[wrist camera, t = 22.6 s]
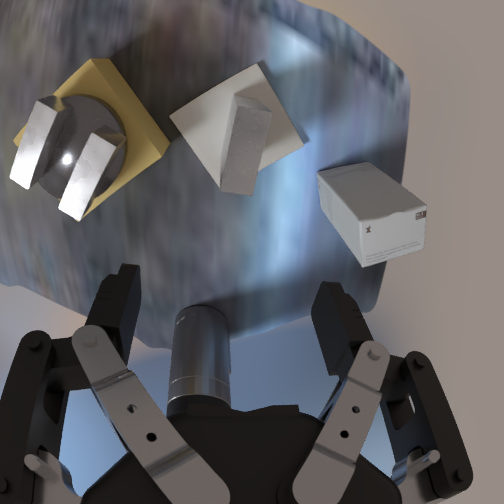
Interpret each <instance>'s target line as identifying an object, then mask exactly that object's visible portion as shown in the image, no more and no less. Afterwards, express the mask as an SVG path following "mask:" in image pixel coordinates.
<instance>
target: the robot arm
mask: <svg viewBox="0 0 504 504" xmlns="http://www.w3.org/2000/svg"><path fill="white" fill-rule="evenodd" d="M140 305H141V278H140V266H139V265H133V264H124V263H123V264H122V265H121V267H120V270H119V272H118V275H114V274H109V275H108V276H107V277H106V278H105V279H104V280H103V281H102V282H101V285H100V287H99V290H98V292H97V295H96V297H95V300H94V302H93V305H92V307H91V310H90V312H89V315H88V318H87V320H86V323H85V325H84V326H83V327H81V328H79V329H78V330H76V331H75V333H74V334H73V336H71V337H69V338H60V339H51V338H50V336H49V335H48V334H47V333H46V332H44V331H40V330H36V331H31V332H29V333H27V334H26V335H25V336H24V337H23V338H22V339H21V342H20V343H19V346H18V349H17V351H16V354H15V357H14V360H13V362H12V365H11V368H10V371H9V374H8V377H7V380H6V383H5V386H4V390H3V393H2V396H1V400H0V504H437V503H440V502H442V501H444V500H446V499H448V498H450V497H452V496H455V495H456V494H459V493H460V492H462V491H464V490H466V489H468V488H469V486H470V485H471V483H472V480H473V471H472V467H471V464H470V461H469V458H468V455H467V452H466V449H465V446H464V443H463V440H462V438H461V435H460V432H459V429H458V427H457V424H456V421H455V419H454V416H453V414H452V411H451V409H450V406H449V404H448V401H447V399H446V396H445V394H444V391H443V389H442V387H441V384H440V382H439V380H438V377H437V375H436V373H435V371H434V369H433V366H432V364H431V362H430V360H429V359H428V358H427V356H425V355H424V354H422V353H421V352H417V351H412V352H410V353H408V354H407V356H406V357H405V358H402V357H397V356H393V355H389V352H388V350H387V349H386V348H385V347H384V346H383V345H382V344H380V343H378V342H376V341H374V340H373V337H372V335H371V333H370V331H369V329H368V326H367V324H366V322H365V320H364V318H363V315H362V313H361V311H360V309H359V307H358V305H357V303H356V301H355V300H354V299H353V298H352V297H351V296H350V295H349V294H345V293H344V290H343V288H342V286H341V284H340V283H339V282H327V281H323V282H322V283H321V285H320V288H319V290H318V293H317V296H316V298H315V301H314V303H313V306H312V311H311V316H312V321H313V324H314V327H315V331H316V334H317V337H318V340H319V344H320V347H321V350H322V354H323V357H324V360H325V363H326V367H327V371H328V374H329V375H338V376H339V381H338V382H337V384H336V386H335V388H334V389H333V391H332V394H331V395H330V397H329V399H328V401H327V403H326V405H325V407H324V408H323V410H322V412H321V413H320V415H319V417H318V418H315V417H313V416H311V415H309V414H305V413H302V412H299V407H298V405H273V406H268V407H265V408H260V409H256V410H252V411H248V412H242V411H238V410H233V409H231V396H230V381H229V375H230V374H231V358H230V340H229V331H228V330H227V322H226V319H225V317H224V316H223V315H222V313H220V312H219V311H218V310H216V309H213V308H211V307H207V306H193V307H189V308H186V309H184V310H182V311H181V312H180V313H179V314H178V315H177V317H176V320H175V328H174V336H173V345H172V355H171V365H170V377H169V389H168V402H167V415H166V417H165V415H164V414H163V413H162V411H161V410H160V409H159V407H158V406H157V405H156V403H155V402H154V400H153V399H152V398H151V396H150V395H149V393H148V392H147V390H146V389H145V388H144V386H143V385H142V383H141V382H140V380H139V379H138V377H137V376H136V374H135V373H134V372H133V371H132V370H130V371H129V370H128V368H127V367H126V366H127V364H128V359H129V354H130V349H131V344H132V340H133V335H134V331H135V326H136V322H137V318H138V314H139V309H140ZM89 388H90V389H91V391H92V393H93V395H94V397H95V399H96V400H97V402H98V404H99V406H100V408H101V409H102V411H103V413H104V415H105V416H106V418H107V420H108V421H109V423H110V425H111V427H112V429H113V430H114V432H115V434H116V435H117V437H118V438H119V440H120V442H121V443H122V445H123V447H124V448H125V450H126V451H127V453H126V454H125V455H124V456H123V457H122V458H121V459H120V460H119V461H118V462H117V463H116V464H114V465H113V466H112V467H111V468H110V469H109V470H108V471H107V472H106V473H105V474H104V475H103V476H101V477H100V478H99V479H98V480H97V481H96V482H95V483H94V484H93V485H92V486H91V487H89V488H88V489H87V491H86V492H85V493H84V495H83V497H79V496H78V495H77V494H76V492H75V491H74V488H73V485H72V477H71V474H70V472H69V470H68V469H67V468H66V467H65V466H64V465H63V464H62V463H61V462H60V461H59V452H60V445H61V438H62V431H63V425H64V419H65V413H66V407H67V402H68V397H69V392H70V391H71V390H81V389H89ZM409 396H411V399H412V401H413V404H414V408H415V413H414V412H413V409H412V406H411V403H410V400H409ZM379 404H380V407H381V410H382V414H383V417H384V421H385V424H386V428H387V432H388V435H389V439H390V442H391V446H392V450H393V454H394V458H395V462H396V464H395V465H394V467H393V470H392V476H391V478H389V477H388V476H386V475H385V474H384V473H383V472H382V471H380V470H379V469H378V468H377V467H375V466H374V465H373V464H372V463H370V462H369V461H368V460H367V459H366V458H364V457H363V456H362V455H361V454H360V451H361V448H362V446H363V444H364V441H365V439H366V437H367V434H368V432H369V429H370V427H371V424H372V422H373V419H374V416H375V414H376V411H377V408H378V406H379Z"/></svg>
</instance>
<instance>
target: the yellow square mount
mask: <svg viewBox="0 0 504 504" xmlns="http://www.w3.org/2000/svg"><path fill="white" fill-rule="evenodd" d="M74 94H88V95H93V96H96V97H98V98H100V99H102V100H104V101H105V102H107V103H108V104H109V105H110V106H111V107H112V108H113V109H114V110H115V111H116V112H117V114H118V115H119V117H120V118H121V120H122V122H123V125H124V128H125V131H126V135H127V145H128V147H127V156H126V160H125V164H124V166H123V169H122V171H121V173H120V174H119V176H118V177H117V178H116V180H115V181H114V182H113V184H112V185H111V186H110V187H109V188H108V189H107V190H106V191H105V192H104V193H103V194H102V195H100V196H99V197H97V198H95V199H94V201H93V203H92V205H91V207H90V208H89V209H88V211H87V212H86V213H85V215H87V214H88V213H89V212H90V211H91V210H93V209H94V208H95V207H96V206H98V205H99V204H100V203H101V202H102V201H104V200H105V199H106V198H107V197H109V196H110V195H111V194H112V193H114V192H115V191H116V190H118V189H119V188H120V187H121V186H123V185H124V184H125V183H127V182H128V181H129V180H131V179H132V178H133V177H135V176H136V175H137V174H139V173H140V172H141V171H143V170H144V169H146V168H147V167H148V166H150V165H151V164H153V163H154V162H155V161H157V160H158V159H160V158H161V157H162V156H163V154H164V153H165V151H166V149H167V148H168V146H169V145H170V142H169V140H168V139H167V138H166V136H165V135H164V133H163V132H162V131H161V129H160V128H159V127H158V125H157V124H156V122H155V121H154V120H153V118H152V117H151V116H150V114H149V113H148V111H147V110H146V109H145V107H144V106H143V104H142V103H141V102H140V100H139V99H138V98H137V96H136V95H135V93H134V92H133V91H132V89H131V88H130V87H129V85H128V84H127V82H126V81H125V80H124V78H123V77H122V76H121V74H120V73H119V71H118V70H117V69H116V67H115V66H114V64H113V63H112V62H111V60H110V59H109V58H102V59H90V60H88V61H87V62H86V63H85V64H84V65H83V66H82V67H81V68H80V69H78V70H77V71H76V72H75V73H74V74H73V75H72V76H71V77H70V78H69V79H68V80H67V81H66V82H65V83H64V84H63V85H62V86H61V87H60V88H59V89H58V90H57V91H56V92H55V93H54V94H53V95H55V96H57V97H58V98H63V97H67V96H70V95H74ZM26 126H27V124H26V125H25V126H24V127H23V129H22V130H21V131H20V132H19V134H18V135H17V136H16V137H15V139H14V140H13V141H14V142H15V144H16V145H17V146H18V148H19V145H20V142H21V140H22V137H23V134H24V131H25V128H26ZM59 200H60V202H61V199H59ZM85 215H84V216H85ZM84 216H83V217H84ZM83 217H82V218H83ZM76 220H77V219H76ZM78 221H79V220H77V222H78Z"/></svg>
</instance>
